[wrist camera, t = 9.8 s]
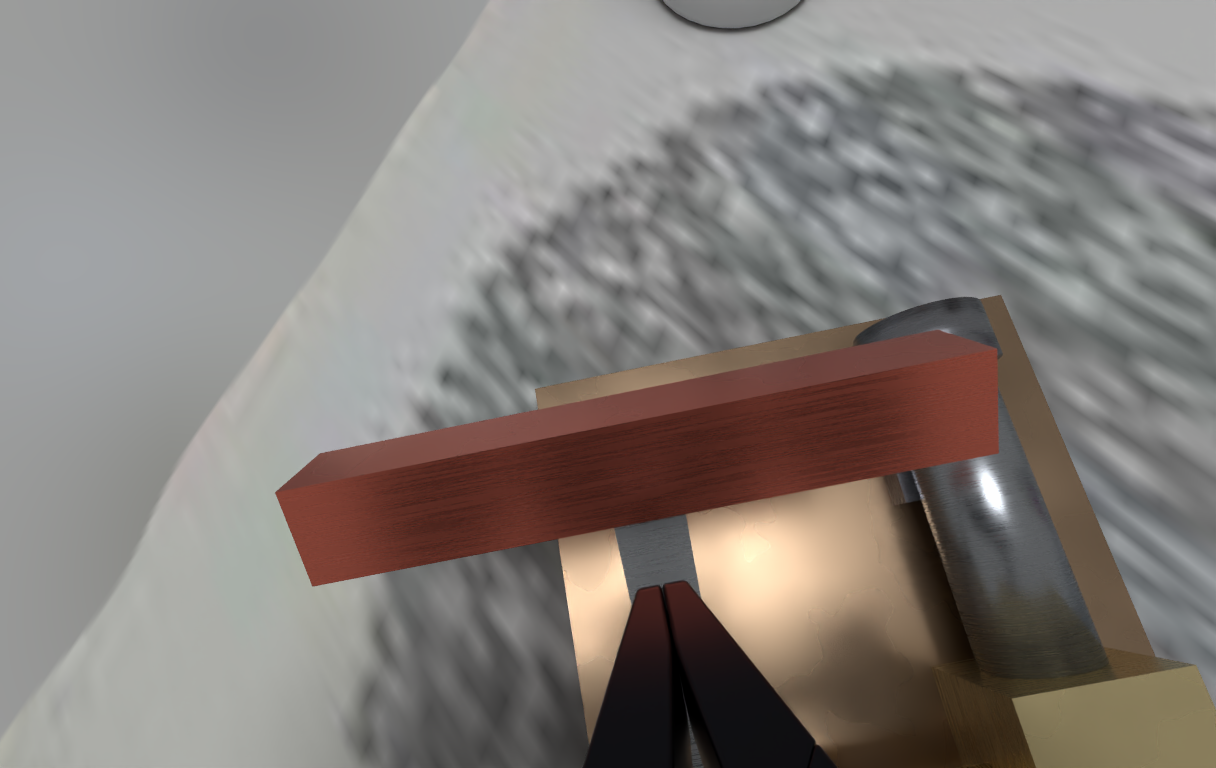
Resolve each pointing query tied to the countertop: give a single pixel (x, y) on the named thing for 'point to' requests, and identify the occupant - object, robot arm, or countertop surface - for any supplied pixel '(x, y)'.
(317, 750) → the countertop surface
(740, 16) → the milk bottle
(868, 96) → the countertop surface
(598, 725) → the robot arm
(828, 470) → the valve lever
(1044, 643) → the valve on board
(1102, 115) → the countertop surface
